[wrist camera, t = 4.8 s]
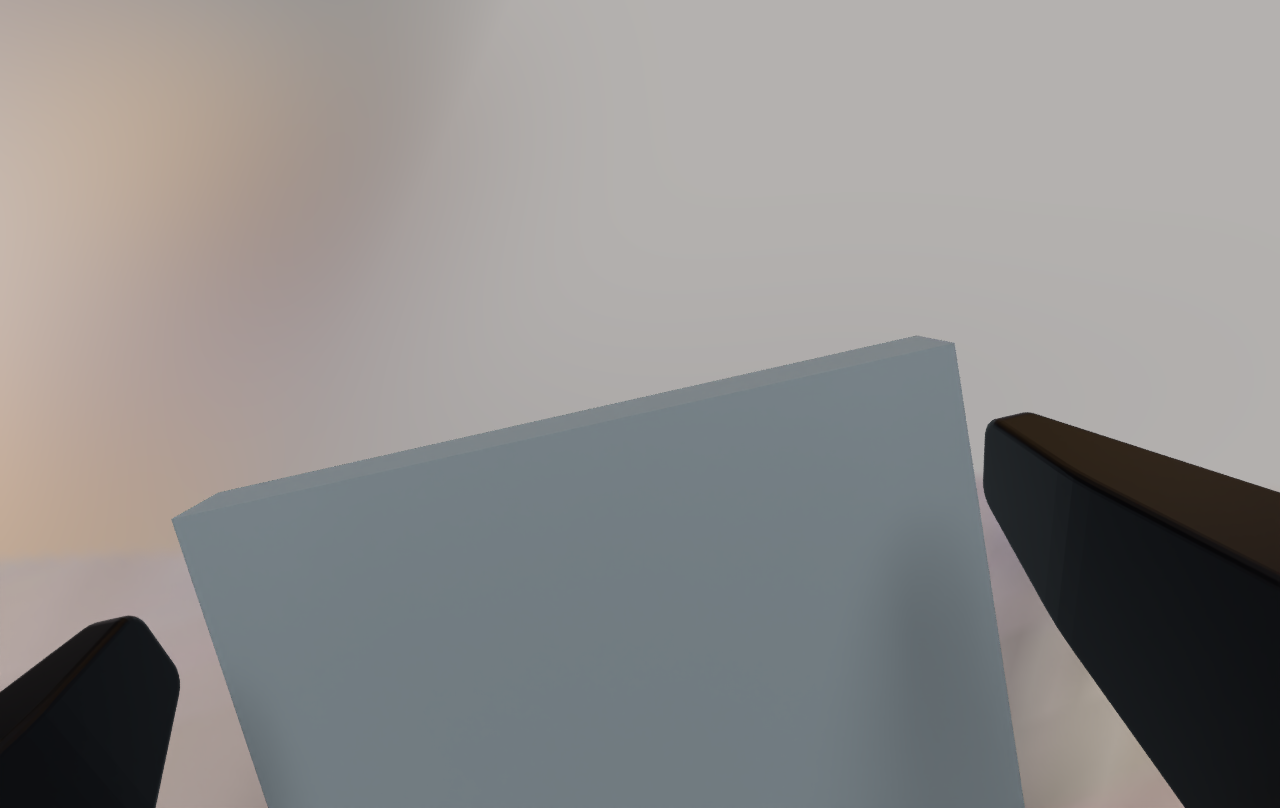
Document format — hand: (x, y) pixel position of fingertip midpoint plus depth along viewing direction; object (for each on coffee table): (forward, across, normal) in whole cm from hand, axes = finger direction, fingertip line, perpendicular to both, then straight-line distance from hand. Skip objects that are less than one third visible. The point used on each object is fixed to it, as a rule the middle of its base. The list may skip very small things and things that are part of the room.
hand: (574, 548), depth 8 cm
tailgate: (-1, 0, +9) cm, 9 cm away
